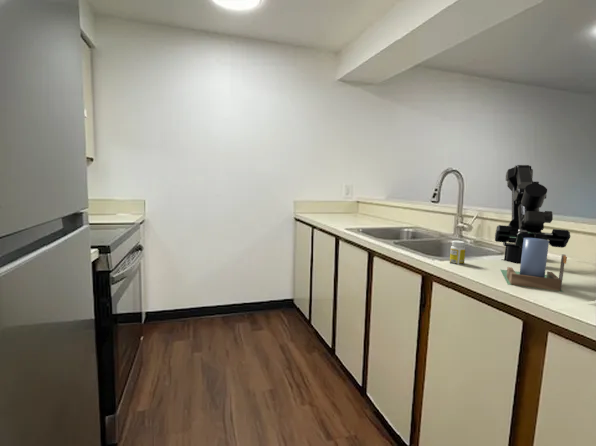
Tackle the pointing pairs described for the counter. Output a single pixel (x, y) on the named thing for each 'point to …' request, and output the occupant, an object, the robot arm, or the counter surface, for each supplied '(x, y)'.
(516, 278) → the wooden rack
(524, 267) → the blue domed cylinder
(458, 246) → the supplement bottle
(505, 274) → the felt mat
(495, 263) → the counter surface
